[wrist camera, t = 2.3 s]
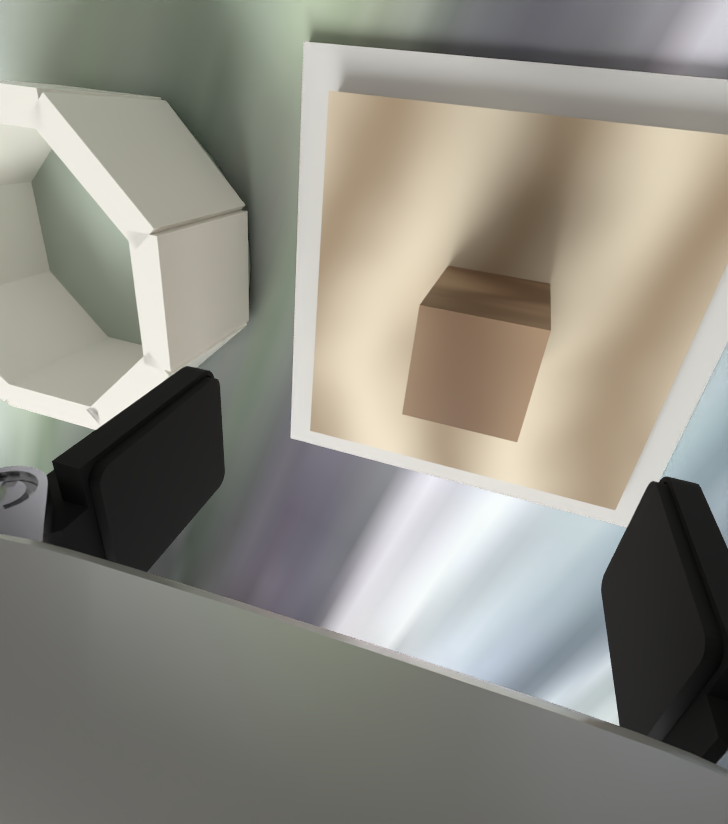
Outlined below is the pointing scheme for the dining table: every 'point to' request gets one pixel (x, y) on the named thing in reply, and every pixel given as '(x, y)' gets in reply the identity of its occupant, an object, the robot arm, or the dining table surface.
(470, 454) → the birch lid
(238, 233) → the ceramic bowl
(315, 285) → the grey mat
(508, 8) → the dining table surface
